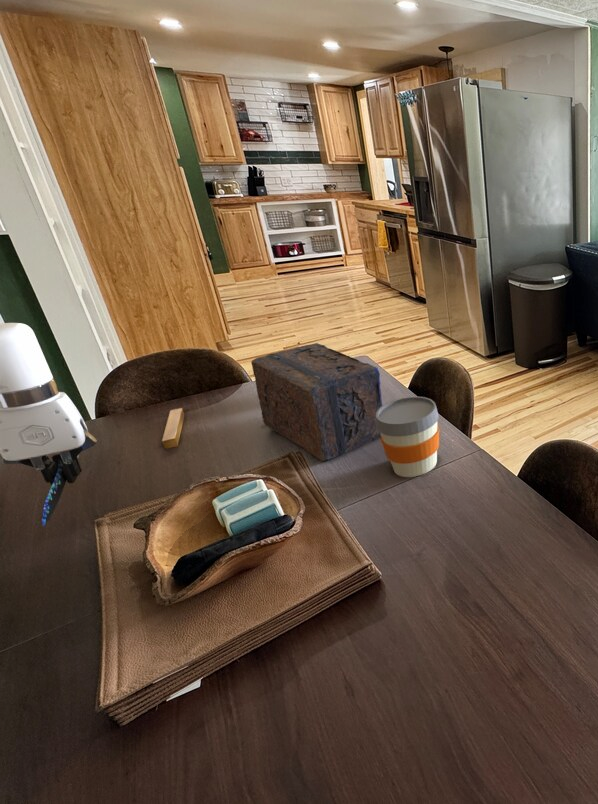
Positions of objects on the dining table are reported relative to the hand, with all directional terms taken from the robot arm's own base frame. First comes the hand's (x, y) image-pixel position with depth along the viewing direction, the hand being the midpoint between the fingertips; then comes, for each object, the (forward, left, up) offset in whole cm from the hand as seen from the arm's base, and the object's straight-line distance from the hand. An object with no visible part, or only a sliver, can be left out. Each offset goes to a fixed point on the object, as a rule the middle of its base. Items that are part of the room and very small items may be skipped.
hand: (65, 480), depth 89 cm
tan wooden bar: (+12, +28, -8) cm, 32 cm away
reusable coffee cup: (+58, -22, -8) cm, 62 cm away
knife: (0, 0, -1) cm, 1 cm away
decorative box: (+44, +6, -8) cm, 45 cm away
